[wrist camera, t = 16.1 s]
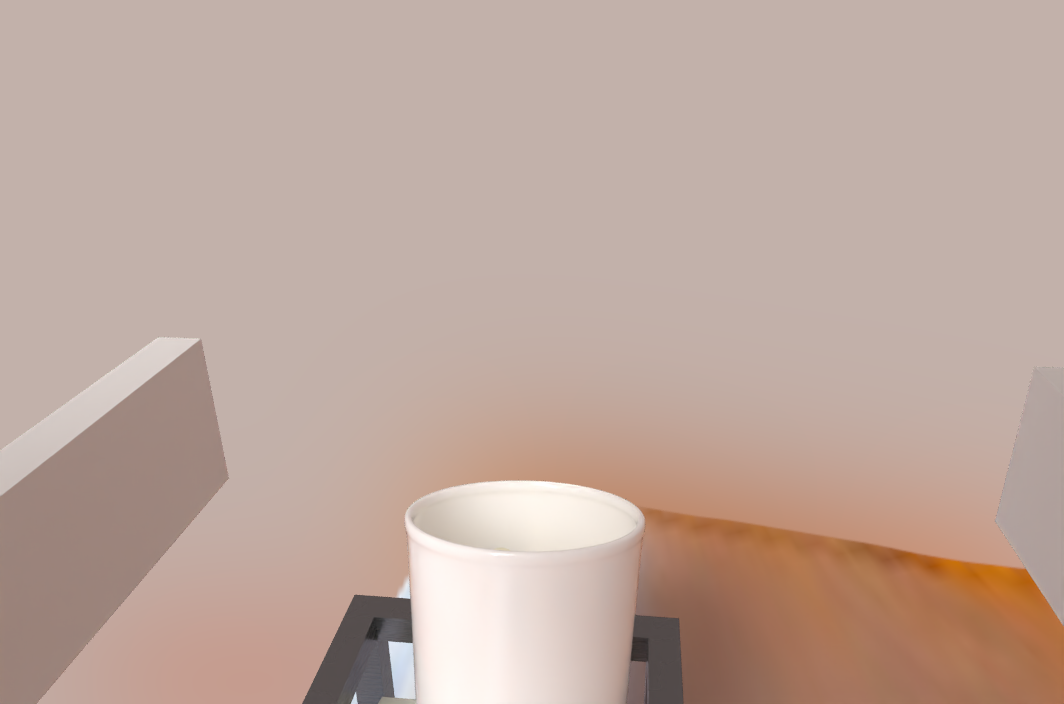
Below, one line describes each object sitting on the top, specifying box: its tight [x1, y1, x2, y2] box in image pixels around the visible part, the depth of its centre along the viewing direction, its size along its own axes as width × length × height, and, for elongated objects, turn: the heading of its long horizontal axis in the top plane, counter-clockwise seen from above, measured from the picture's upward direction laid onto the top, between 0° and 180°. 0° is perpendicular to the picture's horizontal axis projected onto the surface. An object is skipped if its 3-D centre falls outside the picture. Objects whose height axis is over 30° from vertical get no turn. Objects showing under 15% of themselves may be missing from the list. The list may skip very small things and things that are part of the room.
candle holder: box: [404, 481, 646, 704], centre depth 34 cm, size 10×10×12 cm
